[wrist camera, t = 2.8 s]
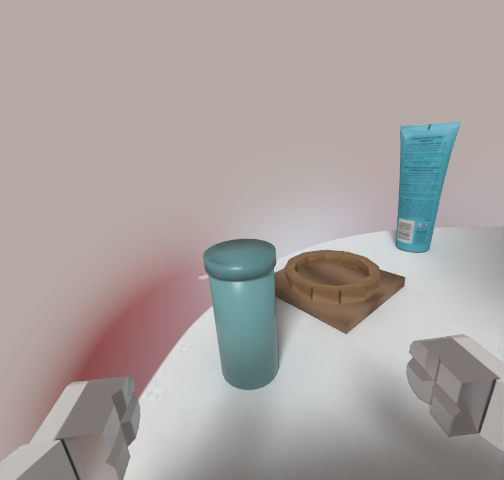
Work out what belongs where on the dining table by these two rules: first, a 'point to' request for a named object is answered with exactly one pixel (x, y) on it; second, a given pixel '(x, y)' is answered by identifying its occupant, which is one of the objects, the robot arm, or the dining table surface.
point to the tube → (422, 181)
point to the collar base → (338, 279)
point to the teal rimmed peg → (244, 310)
